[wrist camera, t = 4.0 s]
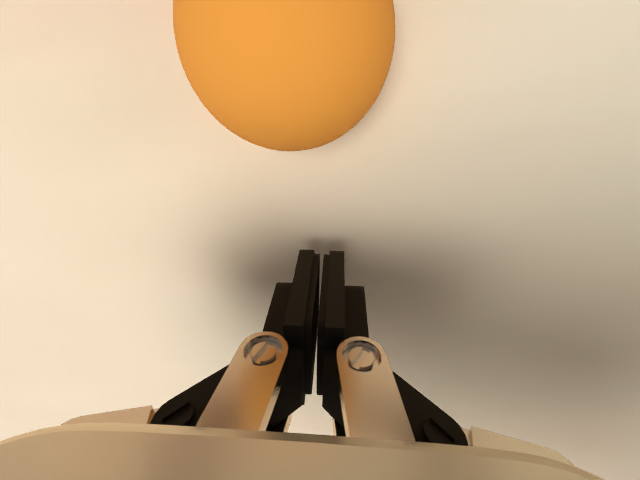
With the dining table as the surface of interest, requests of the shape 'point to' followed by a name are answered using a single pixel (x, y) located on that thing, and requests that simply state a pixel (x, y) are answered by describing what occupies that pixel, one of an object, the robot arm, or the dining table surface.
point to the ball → (286, 64)
